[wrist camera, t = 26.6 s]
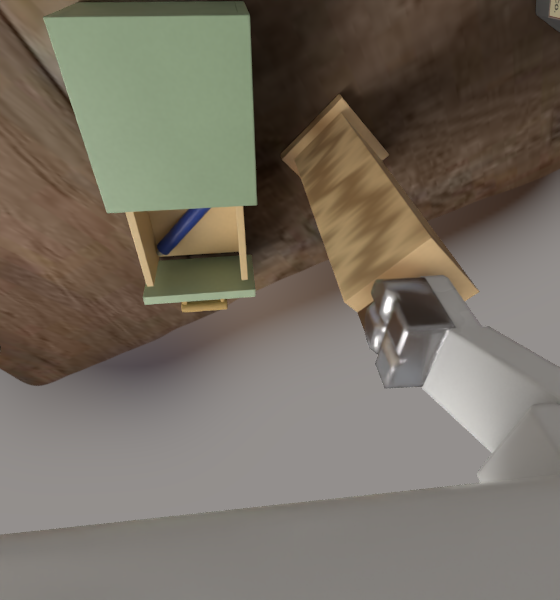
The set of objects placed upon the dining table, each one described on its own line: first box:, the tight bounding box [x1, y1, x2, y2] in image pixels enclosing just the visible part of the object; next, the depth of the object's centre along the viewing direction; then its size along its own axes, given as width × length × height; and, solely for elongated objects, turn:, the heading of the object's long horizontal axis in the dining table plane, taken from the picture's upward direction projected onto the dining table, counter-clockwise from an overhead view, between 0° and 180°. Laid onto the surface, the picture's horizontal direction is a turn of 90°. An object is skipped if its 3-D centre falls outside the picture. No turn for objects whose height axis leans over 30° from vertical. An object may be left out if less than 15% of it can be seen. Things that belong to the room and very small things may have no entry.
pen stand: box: [280, 94, 479, 331], centre depth 36 cm, size 9×9×29 cm
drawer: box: [126, 206, 255, 312], centre depth 48 cm, size 19×14×7 cm
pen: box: [157, 208, 211, 256], centre depth 48 cm, size 12×2×2 cm
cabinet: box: [43, 1, 257, 213], centre depth 37 cm, size 16×15×9 cm
